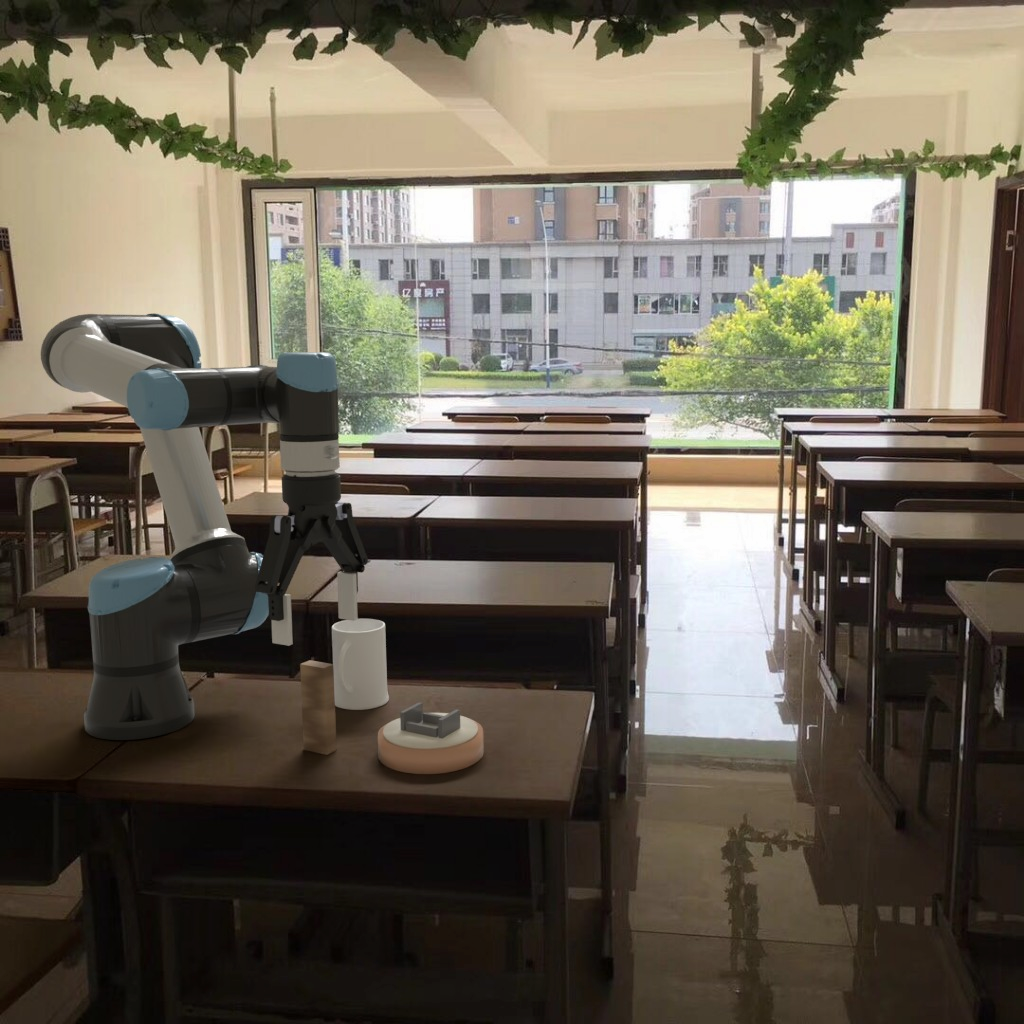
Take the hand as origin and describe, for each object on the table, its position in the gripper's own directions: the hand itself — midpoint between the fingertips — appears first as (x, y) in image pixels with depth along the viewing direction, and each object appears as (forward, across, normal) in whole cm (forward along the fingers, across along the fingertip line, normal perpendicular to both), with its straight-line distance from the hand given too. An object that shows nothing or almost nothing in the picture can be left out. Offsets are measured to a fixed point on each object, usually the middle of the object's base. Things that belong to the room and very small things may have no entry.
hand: (316, 631), depth 143 cm
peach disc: (+16, +6, -14) cm, 22 cm away
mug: (+17, +17, +7) cm, 25 cm away
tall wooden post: (+16, 0, 0) cm, 17 cm away
